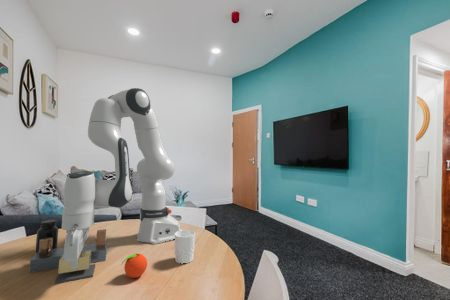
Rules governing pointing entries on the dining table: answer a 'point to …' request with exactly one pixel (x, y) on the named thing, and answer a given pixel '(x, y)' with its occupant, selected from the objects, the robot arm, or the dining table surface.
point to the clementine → (135, 265)
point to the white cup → (184, 246)
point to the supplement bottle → (47, 233)
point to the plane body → (51, 257)
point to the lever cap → (83, 263)
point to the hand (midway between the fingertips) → (76, 263)
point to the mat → (75, 275)
